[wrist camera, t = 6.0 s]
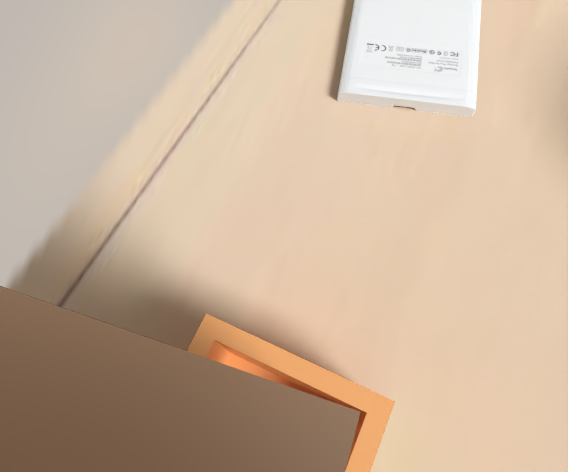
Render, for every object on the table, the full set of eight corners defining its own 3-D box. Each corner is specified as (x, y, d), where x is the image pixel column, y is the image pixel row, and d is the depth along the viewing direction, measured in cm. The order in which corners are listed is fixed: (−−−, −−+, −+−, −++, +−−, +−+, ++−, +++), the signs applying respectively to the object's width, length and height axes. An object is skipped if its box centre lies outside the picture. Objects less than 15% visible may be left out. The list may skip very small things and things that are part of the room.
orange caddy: (307, 590, 19) (307, 646, 15) (145, 496, 21) (97, 520, 16) (376, 404, 22) (394, 401, 17) (226, 333, 23) (206, 313, 19)
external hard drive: (476, -22, 32) (469, 123, 28) (360, -33, 33) (335, 107, 29) (484, -44, 31) (478, 106, 26) (363, -54, 32) (337, 89, 27)
